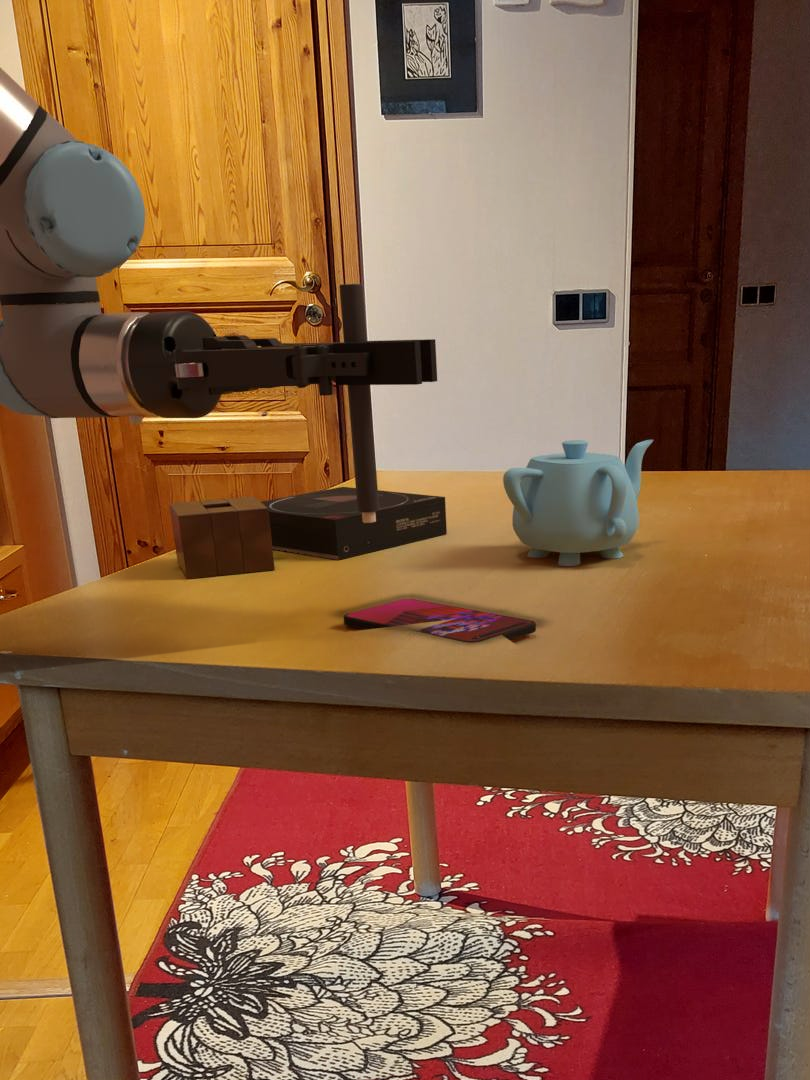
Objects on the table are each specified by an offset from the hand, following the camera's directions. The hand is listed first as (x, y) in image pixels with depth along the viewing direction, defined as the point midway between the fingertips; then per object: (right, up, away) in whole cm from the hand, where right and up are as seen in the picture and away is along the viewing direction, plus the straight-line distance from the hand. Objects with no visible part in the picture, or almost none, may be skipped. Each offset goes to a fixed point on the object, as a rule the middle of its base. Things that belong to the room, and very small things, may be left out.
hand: (425, 361), depth 80 cm
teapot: (+14, -4, +37) cm, 40 cm away
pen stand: (-22, -5, +38) cm, 44 cm away
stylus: (-5, -9, +7) cm, 12 cm away
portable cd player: (-12, +1, +50) cm, 51 cm away
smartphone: (0, -16, +12) cm, 20 cm away
